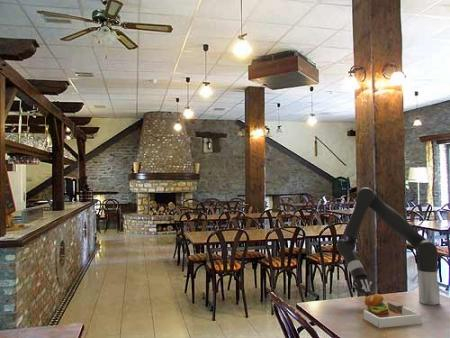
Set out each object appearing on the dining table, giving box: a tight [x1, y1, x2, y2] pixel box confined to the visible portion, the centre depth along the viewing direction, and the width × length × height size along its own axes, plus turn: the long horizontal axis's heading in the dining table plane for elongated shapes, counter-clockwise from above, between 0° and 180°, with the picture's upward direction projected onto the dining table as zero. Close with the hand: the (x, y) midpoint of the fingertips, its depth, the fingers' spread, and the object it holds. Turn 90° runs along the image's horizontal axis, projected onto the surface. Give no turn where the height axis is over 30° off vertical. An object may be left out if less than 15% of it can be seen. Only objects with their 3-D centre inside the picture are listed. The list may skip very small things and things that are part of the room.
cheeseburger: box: [364, 293, 390, 316], centre depth 195 cm, size 10×11×10 cm
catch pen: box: [363, 306, 423, 329], centre depth 182 cm, size 22×12×4 cm, turn 102°
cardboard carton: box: [387, 301, 404, 313], centre depth 198 cm, size 4×7×3 cm, turn 12°
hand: (370, 299), depth 200 cm, fingers closed
